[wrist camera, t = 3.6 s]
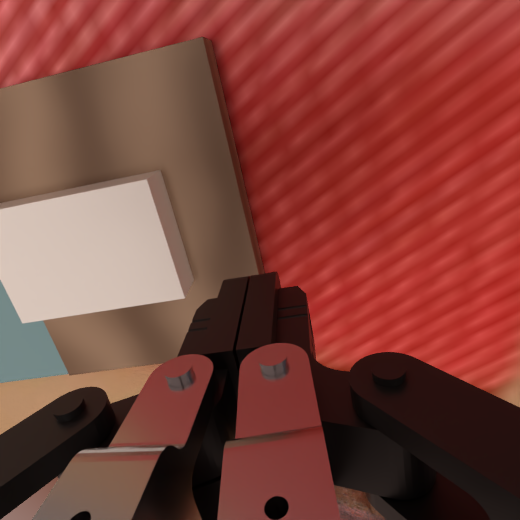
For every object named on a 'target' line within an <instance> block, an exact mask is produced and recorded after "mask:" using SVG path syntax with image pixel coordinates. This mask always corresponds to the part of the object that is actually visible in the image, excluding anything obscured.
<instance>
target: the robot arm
mask: <svg viewBox="0 0 520 520" xmlns="http://www.w3.org/2000/svg"><path fill="white" fill-rule="evenodd" d="M57 476H58V478H59V479H58V481H57V482H56V484H55V485H54V487H53V489H52V490H51V492H50V493H49V495H48V496H47V498H46V499H45V501H44V502H43V504H42V505H41V507H40V509H39V510H38V511H37V513H36V515H35V516H34V517H33V519H32V520H340V515H339V510H338V504H337V499H336V494H335V489H334V485H336V486H340V487H345V488H349V489H353V490H357V491H362V492H365V494H366V497H367V499H368V501H369V502H370V504H371V505H372V506H373V507H374V509H375V510H376V511H378V512H379V513H380V514H381V515H382V516H383V517H384V518H385V519H386V520H520V408H519V407H517V406H515V405H513V404H511V403H509V402H507V401H505V400H503V399H500V398H498V397H496V396H494V395H492V394H490V393H488V392H486V391H484V390H482V389H479V388H477V387H475V386H473V385H471V384H469V383H467V382H465V381H463V380H461V379H458V378H456V377H454V376H452V375H450V374H448V373H446V372H444V371H442V370H439V369H437V368H435V367H433V366H431V365H429V364H427V363H425V362H423V361H421V360H418V359H416V358H414V357H412V356H409V355H406V354H402V353H396V352H382V353H376V354H372V355H369V356H366V357H364V358H362V359H360V360H359V361H358V362H356V363H355V364H354V365H353V367H352V368H351V370H350V372H347V371H339V370H334V369H330V368H328V367H325V366H323V365H321V364H320V363H318V362H317V361H316V355H315V344H314V337H313V331H312V326H311V320H310V314H309V308H308V303H307V297H306V293H304V292H303V291H302V290H301V289H300V288H299V287H298V286H294V287H287V288H281V286H280V281H279V276H278V273H277V272H271V273H264V274H258V275H251V277H250V276H245V277H239V278H232V279H225V280H223V282H222V285H221V288H220V291H219V294H218V297H217V298H213V299H207V300H206V301H205V302H204V303H203V304H202V305H201V306H200V307H199V308H198V309H197V310H196V312H195V314H194V317H193V319H192V323H191V324H190V327H189V329H188V332H187V334H186V336H185V339H184V341H183V344H182V346H181V349H180V351H179V353H178V356H177V357H176V358H173V359H171V360H169V361H167V362H165V363H163V364H162V365H160V366H159V367H158V368H156V369H155V370H154V371H153V372H152V374H151V375H150V376H149V378H148V380H147V381H146V383H145V385H144V387H143V388H142V390H141V392H140V394H138V395H135V396H132V397H129V398H126V399H123V400H120V401H117V402H114V403H111V404H110V401H109V399H108V397H107V394H106V392H105V391H104V390H103V389H101V388H97V387H85V388H80V389H77V390H74V391H71V392H69V393H67V394H65V395H63V396H61V397H59V398H57V399H56V400H54V401H53V402H51V403H50V404H48V405H46V406H45V407H43V408H42V409H40V410H39V411H37V412H35V413H34V414H32V415H31V416H29V417H28V418H26V419H24V420H23V421H21V422H20V423H18V424H17V425H15V426H13V427H12V428H10V429H9V430H7V431H6V432H4V433H3V434H1V435H0V519H2V518H3V517H4V516H5V515H7V514H8V513H10V512H11V511H12V510H13V509H15V508H16V507H17V506H19V505H20V504H21V503H23V502H24V501H25V500H27V499H28V498H29V497H30V496H32V495H33V494H34V493H36V492H37V491H38V490H39V489H41V488H42V487H44V486H45V485H46V484H48V483H49V482H50V481H51V480H53V479H54V478H55V477H57Z"/></svg>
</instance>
